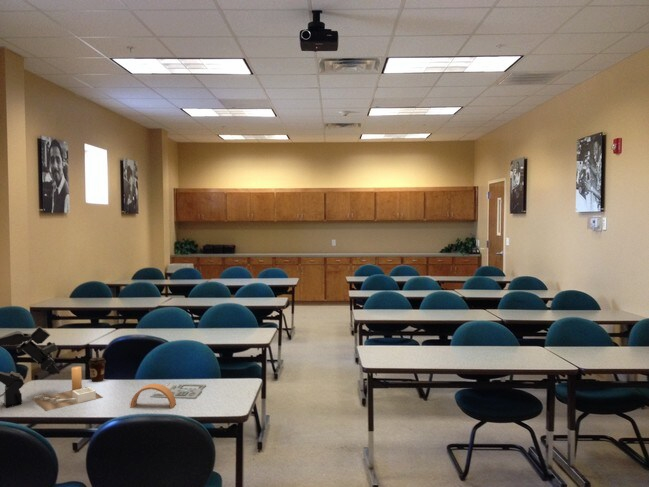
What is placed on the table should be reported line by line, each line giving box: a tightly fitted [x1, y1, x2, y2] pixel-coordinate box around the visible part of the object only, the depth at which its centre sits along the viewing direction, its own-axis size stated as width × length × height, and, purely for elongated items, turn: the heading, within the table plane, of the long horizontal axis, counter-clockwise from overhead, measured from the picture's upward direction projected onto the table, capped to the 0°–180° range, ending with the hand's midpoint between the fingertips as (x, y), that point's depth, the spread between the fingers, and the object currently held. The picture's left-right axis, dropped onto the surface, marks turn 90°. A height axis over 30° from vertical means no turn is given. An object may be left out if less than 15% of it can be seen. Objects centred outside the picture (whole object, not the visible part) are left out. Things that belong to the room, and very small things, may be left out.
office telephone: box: [149, 383, 207, 400], centre depth 266 cm, size 23×3×20 cm
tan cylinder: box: [71, 365, 83, 391], centre depth 263 cm, size 4×4×12 cm
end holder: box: [72, 386, 97, 404], centre depth 253 cm, size 8×8×4 cm
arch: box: [129, 383, 177, 409], centre depth 246 cm, size 6×20×10 cm, turn 87°
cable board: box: [31, 386, 104, 412], centre depth 254 cm, size 26×22×4 cm
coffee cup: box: [88, 357, 107, 383], centre depth 281 cm, size 9×8×13 cm
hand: (58, 370), depth 258 cm, fingers open, 9 cm apart
